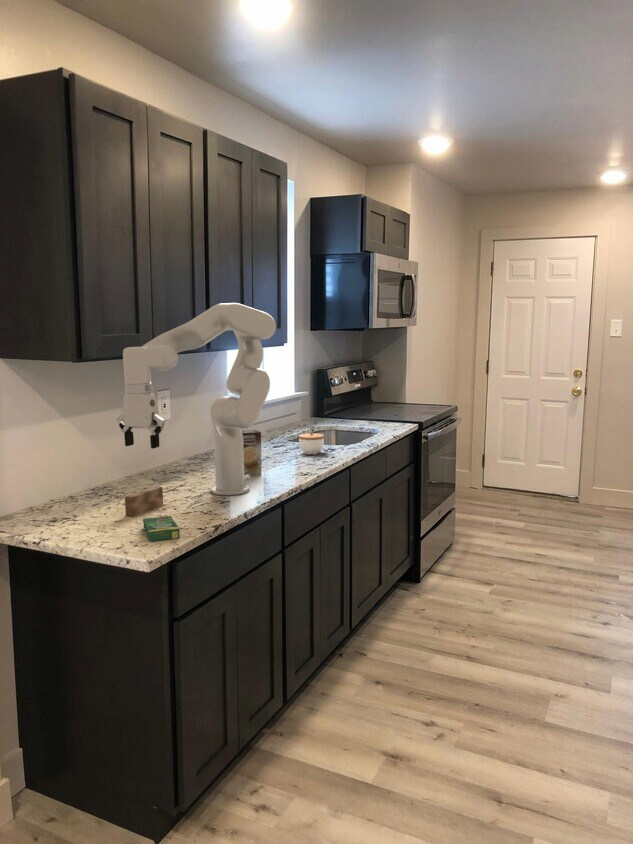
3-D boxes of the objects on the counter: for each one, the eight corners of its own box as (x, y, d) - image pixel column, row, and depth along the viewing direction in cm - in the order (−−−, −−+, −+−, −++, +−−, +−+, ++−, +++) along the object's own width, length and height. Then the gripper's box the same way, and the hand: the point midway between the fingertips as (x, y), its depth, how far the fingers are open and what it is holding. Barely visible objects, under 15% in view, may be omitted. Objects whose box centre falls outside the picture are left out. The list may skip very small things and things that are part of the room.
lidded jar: (315, 456, 281) (315, 434, 280) (294, 454, 287) (293, 432, 286) (328, 452, 290) (328, 430, 289) (307, 449, 296) (307, 428, 295)
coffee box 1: (172, 514, 189) (179, 528, 177) (173, 524, 189) (180, 538, 177) (143, 517, 186) (148, 531, 174) (143, 527, 186) (148, 542, 174)
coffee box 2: (237, 477, 246) (236, 433, 244) (233, 473, 252) (232, 430, 250) (262, 474, 249) (261, 431, 247) (257, 471, 255) (256, 429, 253)
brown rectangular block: (156, 504, 211) (155, 486, 210) (163, 505, 210) (162, 486, 209) (125, 516, 198) (124, 496, 197) (132, 517, 197) (131, 497, 196)
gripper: (170, 388, 198) (173, 446, 201) (124, 387, 206) (128, 442, 208) (153, 391, 191) (157, 451, 194) (106, 389, 199) (111, 447, 202)
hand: (142, 446), depth 201 cm, fingers open, 9 cm apart
